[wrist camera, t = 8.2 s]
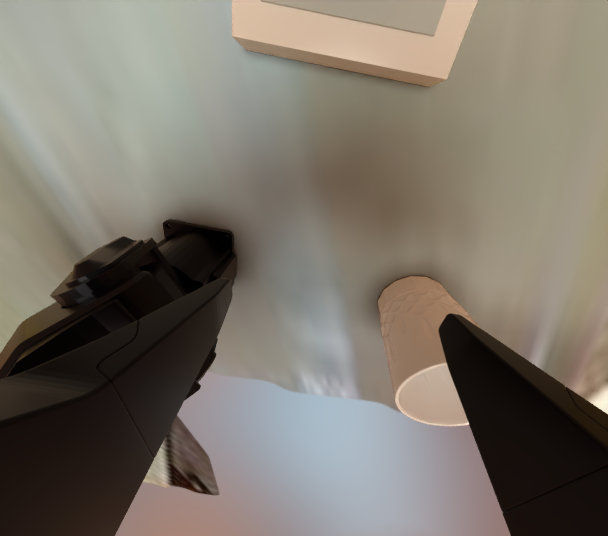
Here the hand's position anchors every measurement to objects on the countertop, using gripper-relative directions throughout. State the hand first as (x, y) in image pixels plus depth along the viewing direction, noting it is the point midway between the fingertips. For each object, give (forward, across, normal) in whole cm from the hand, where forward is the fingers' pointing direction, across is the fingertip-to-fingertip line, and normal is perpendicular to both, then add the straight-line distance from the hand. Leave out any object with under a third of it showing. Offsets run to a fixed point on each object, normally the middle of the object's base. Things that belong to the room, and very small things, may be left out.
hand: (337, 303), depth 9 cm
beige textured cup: (+12, -10, +8) cm, 18 cm away
